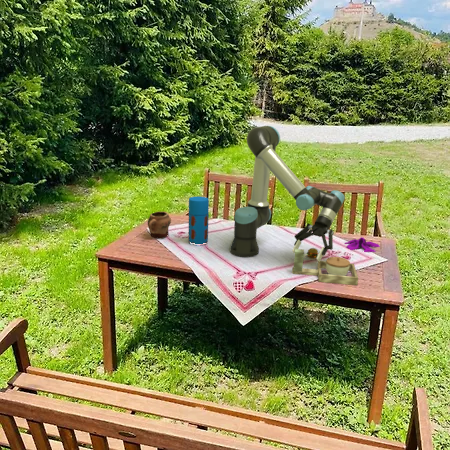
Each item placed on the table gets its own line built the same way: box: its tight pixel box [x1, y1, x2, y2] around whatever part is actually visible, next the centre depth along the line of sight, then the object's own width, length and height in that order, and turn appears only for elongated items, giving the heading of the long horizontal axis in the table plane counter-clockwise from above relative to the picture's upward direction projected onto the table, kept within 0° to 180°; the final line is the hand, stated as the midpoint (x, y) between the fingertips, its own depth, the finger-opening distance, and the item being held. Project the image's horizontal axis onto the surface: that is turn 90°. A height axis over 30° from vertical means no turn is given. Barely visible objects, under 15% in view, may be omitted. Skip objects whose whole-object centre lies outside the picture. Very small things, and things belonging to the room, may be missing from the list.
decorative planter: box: [147, 211, 172, 239], centre depth 247 cm, size 20×12×14 cm, turn 164°
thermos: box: [188, 196, 210, 244], centre depth 239 cm, size 11×11×25 cm
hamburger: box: [303, 247, 319, 261], centre depth 226 cm, size 12×12×6 cm
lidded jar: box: [325, 256, 351, 276], centre depth 202 cm, size 11×11×9 cm
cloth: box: [344, 236, 381, 253], centre depth 244 cm, size 22×19×6 cm
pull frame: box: [291, 248, 359, 286], centre depth 203 cm, size 29×17×11 cm, turn 80°
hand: (305, 256), depth 205 cm, fingers open, 13 cm apart
